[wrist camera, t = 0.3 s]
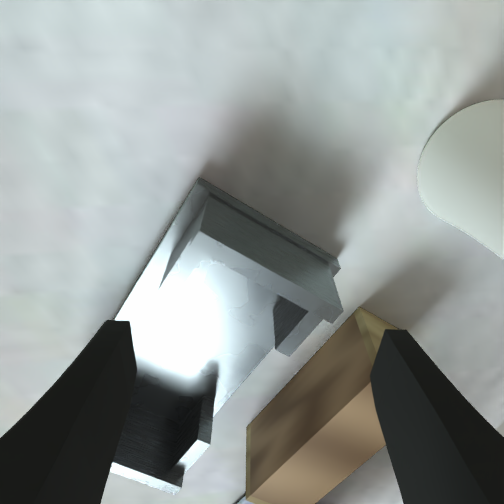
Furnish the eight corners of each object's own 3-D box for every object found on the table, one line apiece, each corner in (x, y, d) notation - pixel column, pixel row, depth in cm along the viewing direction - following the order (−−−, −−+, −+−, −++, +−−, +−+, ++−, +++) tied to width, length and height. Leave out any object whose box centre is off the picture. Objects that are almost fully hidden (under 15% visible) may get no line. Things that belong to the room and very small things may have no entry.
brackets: (195, 426, 29) (184, 499, 24) (78, 378, 27) (44, 448, 22) (337, 258, 22) (357, 316, 18) (199, 177, 20) (184, 220, 16)
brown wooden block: (289, 446, 30) (296, 519, 25) (246, 427, 29) (245, 500, 24) (406, 333, 25) (439, 400, 21) (359, 306, 24) (383, 370, 20)
